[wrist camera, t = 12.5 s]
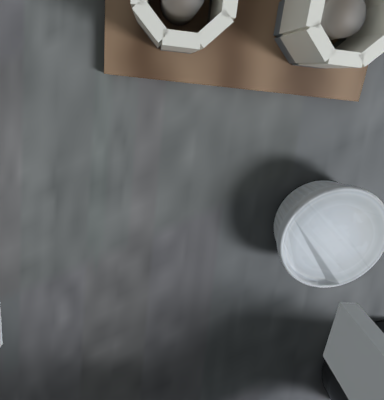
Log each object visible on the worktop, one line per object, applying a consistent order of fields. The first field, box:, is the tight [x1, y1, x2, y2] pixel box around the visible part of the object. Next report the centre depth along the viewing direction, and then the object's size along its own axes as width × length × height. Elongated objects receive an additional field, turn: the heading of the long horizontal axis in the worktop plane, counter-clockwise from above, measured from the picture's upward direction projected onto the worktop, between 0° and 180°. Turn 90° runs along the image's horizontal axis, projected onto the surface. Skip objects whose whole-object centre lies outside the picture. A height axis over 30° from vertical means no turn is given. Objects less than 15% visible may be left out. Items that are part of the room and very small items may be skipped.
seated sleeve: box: [273, 0, 384, 68], centre depth 27 cm, size 7×7×7 cm
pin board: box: [104, 0, 368, 101], centre depth 27 cm, size 24×12×6 cm, turn 84°
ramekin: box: [274, 180, 384, 288], centre depth 36 cm, size 11×11×5 cm
